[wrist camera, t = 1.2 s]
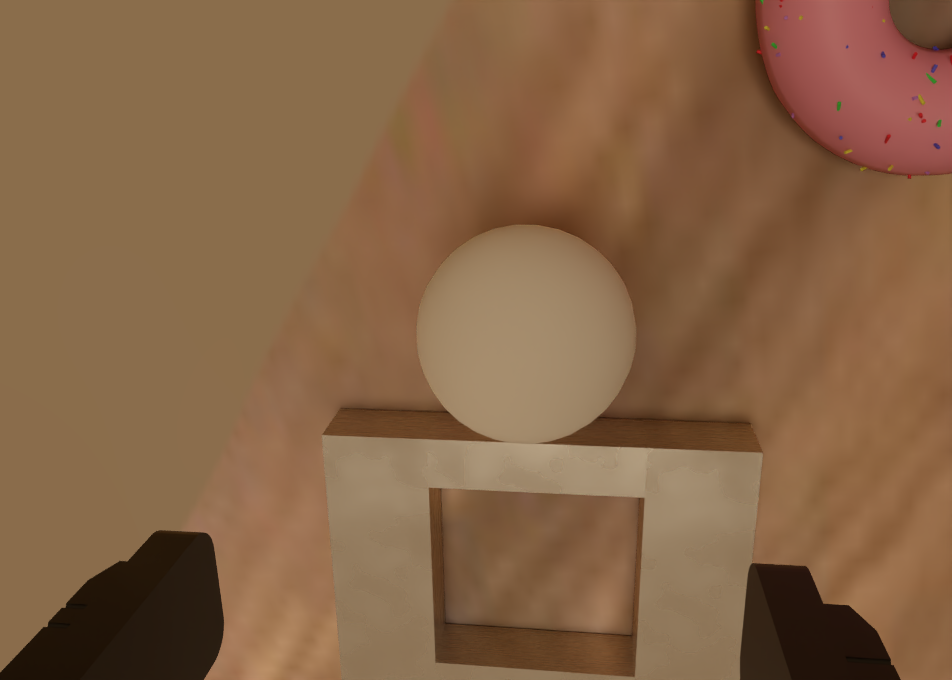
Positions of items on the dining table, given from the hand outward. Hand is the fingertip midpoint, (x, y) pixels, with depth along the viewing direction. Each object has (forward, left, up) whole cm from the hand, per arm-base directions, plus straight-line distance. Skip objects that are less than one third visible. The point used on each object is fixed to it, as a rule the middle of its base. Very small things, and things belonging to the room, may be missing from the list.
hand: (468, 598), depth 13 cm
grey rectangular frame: (0, +12, -20) cm, 23 cm away
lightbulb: (0, 0, -20) cm, 20 cm away
